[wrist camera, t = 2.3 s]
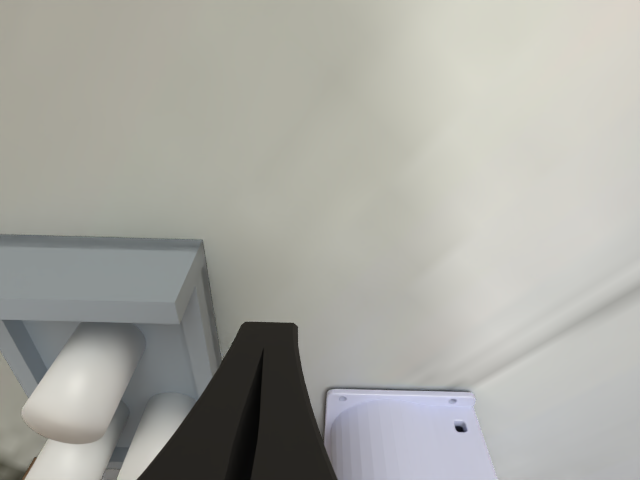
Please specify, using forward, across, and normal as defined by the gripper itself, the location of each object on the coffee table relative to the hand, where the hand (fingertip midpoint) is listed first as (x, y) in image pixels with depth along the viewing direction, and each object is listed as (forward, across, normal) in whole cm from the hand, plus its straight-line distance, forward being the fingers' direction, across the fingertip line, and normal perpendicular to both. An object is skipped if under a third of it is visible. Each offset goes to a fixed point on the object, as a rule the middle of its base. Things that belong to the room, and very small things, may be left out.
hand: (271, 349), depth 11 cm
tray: (+9, +10, +12) cm, 18 cm away
